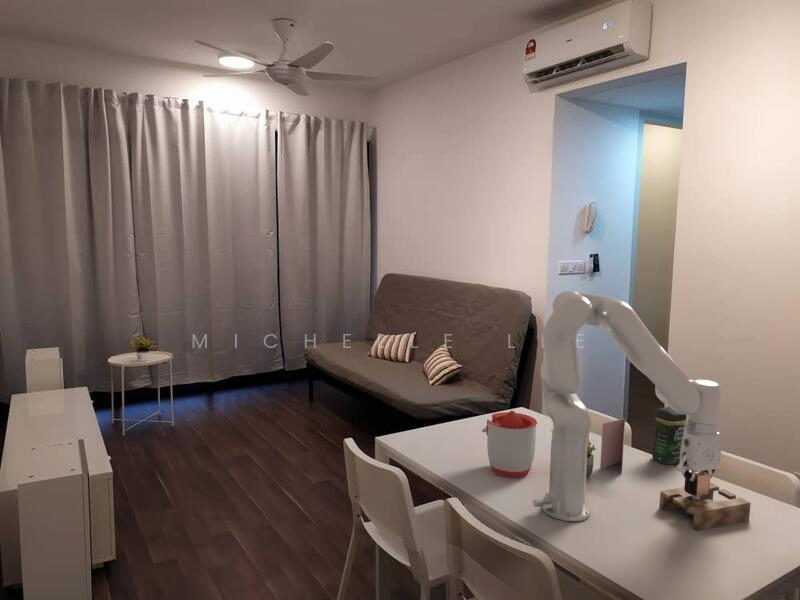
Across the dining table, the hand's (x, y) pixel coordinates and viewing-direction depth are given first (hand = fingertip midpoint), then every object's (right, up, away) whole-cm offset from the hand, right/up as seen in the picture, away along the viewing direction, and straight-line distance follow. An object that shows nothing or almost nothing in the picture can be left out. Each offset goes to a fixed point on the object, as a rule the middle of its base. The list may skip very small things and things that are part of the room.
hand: (696, 491), depth 158 cm
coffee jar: (+10, -3, +39) cm, 40 cm away
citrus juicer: (-46, -3, +29) cm, 54 cm away
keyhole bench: (+3, -7, +2) cm, 8 cm away
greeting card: (-9, -3, +32) cm, 34 cm away
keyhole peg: (0, -6, +1) cm, 6 cm away
